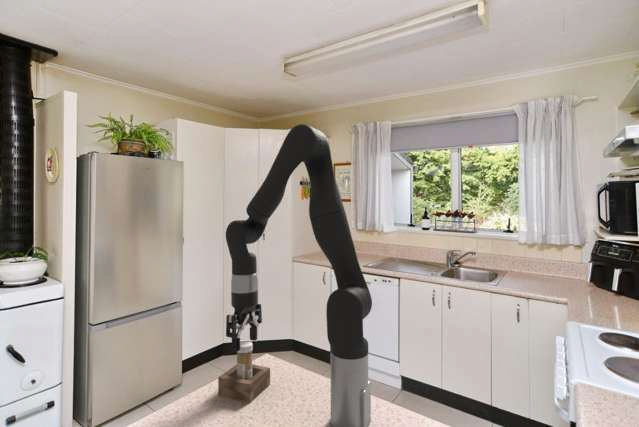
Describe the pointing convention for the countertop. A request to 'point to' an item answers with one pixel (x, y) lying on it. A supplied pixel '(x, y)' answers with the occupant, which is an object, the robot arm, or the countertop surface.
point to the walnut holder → (244, 384)
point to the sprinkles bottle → (244, 360)
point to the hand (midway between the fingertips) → (245, 345)
